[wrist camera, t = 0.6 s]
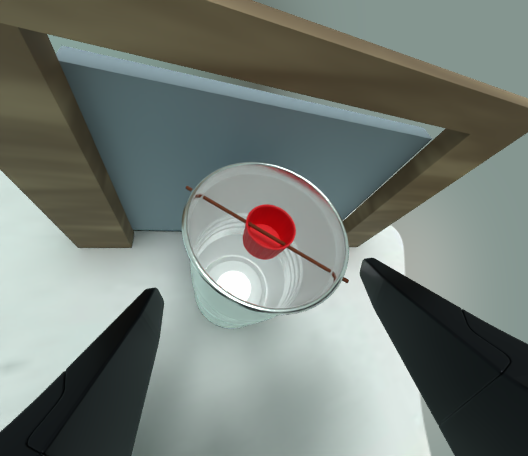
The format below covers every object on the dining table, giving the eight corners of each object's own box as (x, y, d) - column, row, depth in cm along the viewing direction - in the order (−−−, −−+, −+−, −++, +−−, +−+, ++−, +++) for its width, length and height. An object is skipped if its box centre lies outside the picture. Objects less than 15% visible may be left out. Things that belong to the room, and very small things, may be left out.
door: (328, 233, 27) (431, 138, 15) (130, 229, 20) (52, 59, 9) (323, 216, 28) (416, 117, 17) (134, 208, 21) (69, 33, 10)
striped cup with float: (156, 301, 18) (117, 234, 8) (212, 229, 23) (230, 132, 13) (259, 363, 18) (342, 367, 8) (294, 277, 23) (373, 216, 13)
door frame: (357, 246, 28) (552, 115, 13) (78, 247, 19) (-355, -187, 4) (353, 236, 28) (533, 100, 13) (82, 232, 19) (-266, -184, 5)
